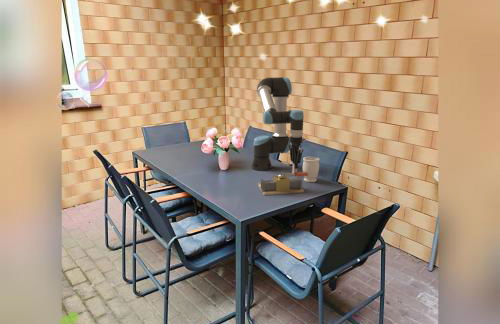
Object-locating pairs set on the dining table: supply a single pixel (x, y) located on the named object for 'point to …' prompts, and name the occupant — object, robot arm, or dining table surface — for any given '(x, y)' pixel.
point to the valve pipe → (281, 184)
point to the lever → (293, 174)
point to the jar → (311, 168)
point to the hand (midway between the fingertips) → (294, 173)
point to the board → (280, 191)
